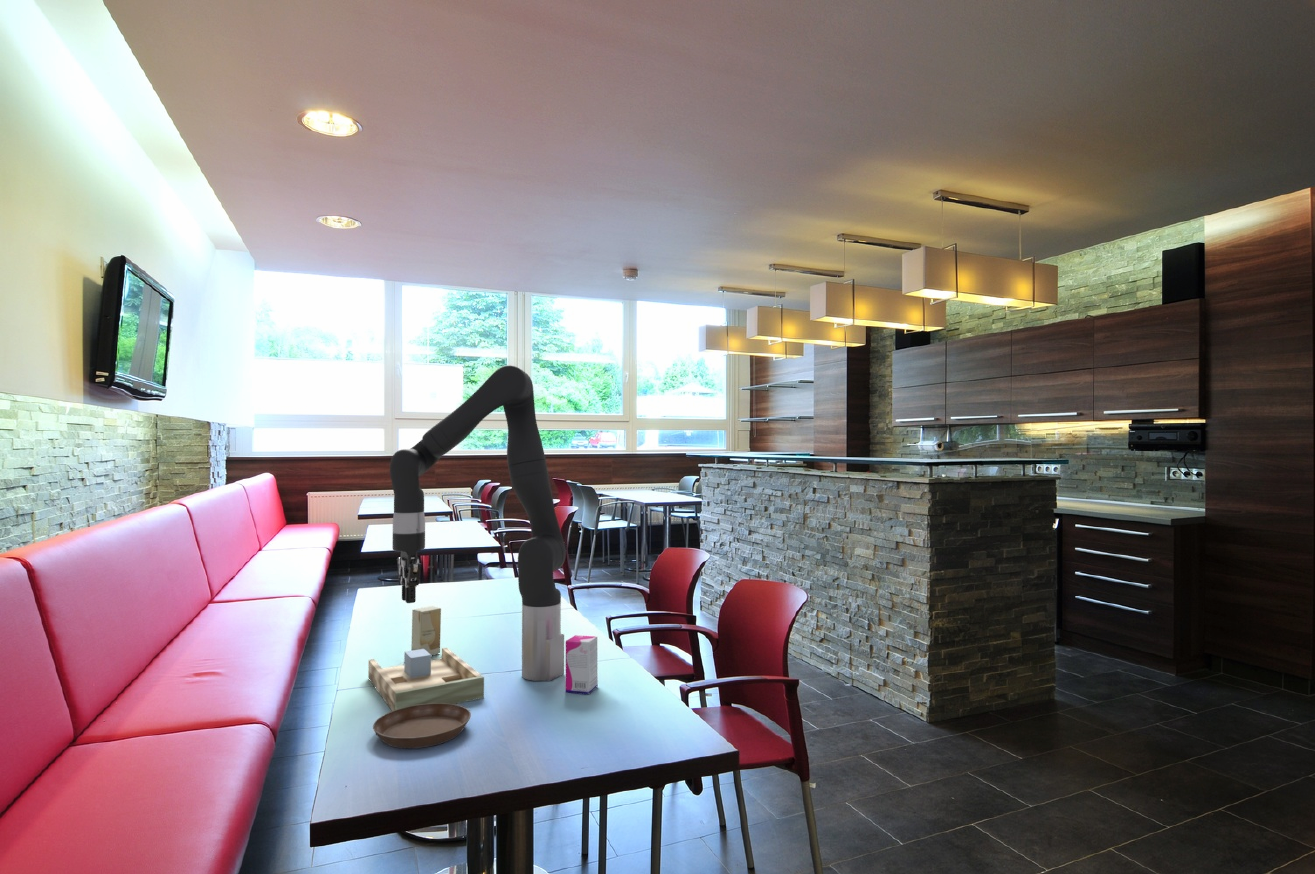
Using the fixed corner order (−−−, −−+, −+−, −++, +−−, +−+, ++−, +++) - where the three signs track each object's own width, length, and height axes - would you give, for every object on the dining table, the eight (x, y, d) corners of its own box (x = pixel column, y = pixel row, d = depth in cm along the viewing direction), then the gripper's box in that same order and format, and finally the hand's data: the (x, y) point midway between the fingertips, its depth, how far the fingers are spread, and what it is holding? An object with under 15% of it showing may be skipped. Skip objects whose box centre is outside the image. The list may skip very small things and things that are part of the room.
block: (430, 674, 161) (430, 654, 161) (410, 677, 159) (410, 658, 159) (423, 667, 166) (423, 648, 166) (404, 671, 164) (404, 651, 164)
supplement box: (598, 686, 159) (598, 635, 159) (588, 695, 153) (589, 642, 153) (574, 684, 160) (574, 634, 161) (564, 692, 155) (564, 640, 155)
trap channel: (483, 697, 151) (483, 677, 151) (395, 715, 141) (396, 693, 141) (446, 665, 174) (446, 647, 174) (368, 679, 164) (368, 659, 164)
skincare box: (420, 659, 179) (420, 611, 180) (410, 656, 182) (410, 609, 182) (441, 653, 184) (441, 607, 185) (431, 650, 187) (432, 605, 187)
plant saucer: (374, 724, 138) (374, 708, 138) (466, 712, 144) (466, 697, 144) (371, 761, 121) (371, 743, 121) (475, 746, 127) (475, 729, 128)
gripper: (432, 532, 166) (432, 604, 166) (417, 527, 178) (416, 594, 178) (400, 534, 162) (399, 608, 162) (386, 528, 174) (385, 598, 173)
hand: (408, 601), depth 170 cm, fingers open, 3 cm apart
